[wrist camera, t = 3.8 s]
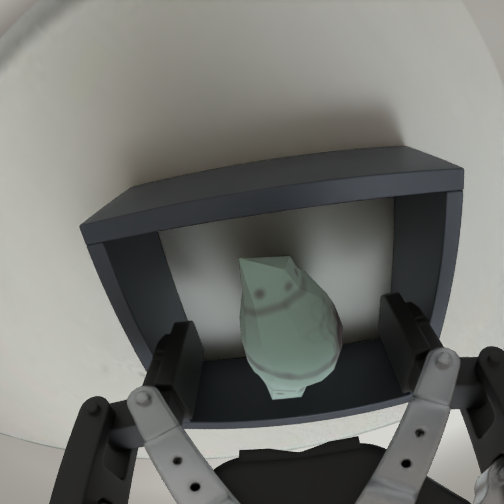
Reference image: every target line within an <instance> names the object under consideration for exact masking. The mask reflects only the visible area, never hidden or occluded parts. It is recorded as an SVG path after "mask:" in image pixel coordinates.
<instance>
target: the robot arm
mask: <svg viewBox="0 0 504 504" xmlns="http://www.w3.org/2000/svg"><path fill="white" fill-rule="evenodd" d="M378 329H379V334H380V337H381V340H382V342H383V344H384V347H385V349H386V352H387V354H388V356H389V359H390V361H391V364H392V366H393V369H394V371H395V374H396V376H397V379H398V382H399V384H400V387H401V389H402V392H403V393H406V392H410V391H412V394H413V395H412V396H411V399H410V401H409V403H408V406H407V408H406V410H405V412H404V415H403V417H402V419H401V421H400V424H399V426H398V428H397V430H396V432H395V434H394V436H393V439H392V440H391V442H390V444H389V446H388V448H387V449H385V448H382V447H380V446H376V445H372V444H365V443H360V442H359V438H358V436H357V437H352V438H346V439H341V440H335V441H329V442H327V443H324V444H322V445H319V446H316V447H314V448H311V449H308V450H305V451H303V452H291V451H282V450H275V449H255V450H239V458H235V459H233V460H230V461H227V462H225V463H223V464H222V465H220V466H218V467H217V468H215V469H214V470H213V469H212V467H211V466H210V465H209V464H208V462H207V461H206V460H205V458H204V457H203V456H202V454H201V453H200V451H199V450H198V449H197V447H196V446H195V445H194V443H193V442H192V440H191V439H190V437H189V436H188V435H187V433H186V432H185V430H184V429H183V427H182V424H183V419H193V413H194V408H195V402H196V397H197V391H198V386H199V381H200V376H201V370H202V365H203V360H204V351H203V346H202V344H201V341H200V338H199V336H198V333H197V330H196V327H195V325H194V323H193V321H180V322H175V323H174V325H173V328H172V331H171V333H170V334H165V335H164V336H163V337H162V338H161V339H160V341H159V342H158V343H157V346H156V349H155V353H154V354H153V357H152V360H151V363H150V366H149V368H148V371H147V374H146V377H145V380H144V383H143V385H142V386H141V387H138V388H136V389H135V390H133V391H132V392H131V393H130V395H129V397H128V399H127V400H124V401H119V402H115V403H110V404H109V402H108V401H107V400H106V399H105V398H103V397H100V396H96V397H92V398H90V399H88V400H86V401H85V402H84V403H83V405H82V406H81V408H80V411H79V414H78V416H77V419H76V422H75V424H74V427H73V430H72V433H71V435H70V438H69V441H68V444H67V447H66V450H65V453H64V456H63V459H62V462H61V465H60V468H59V472H58V475H57V478H56V482H55V485H54V488H53V492H52V495H51V500H50V503H49V504H128V499H129V493H130V488H131V482H132V476H133V471H134V466H135V461H136V456H137V451H138V448H139V447H145V449H146V451H147V453H148V455H149V457H150V459H151V460H152V462H153V464H154V466H155V468H156V469H157V471H158V473H159V475H160V476H161V478H162V480H163V481H164V483H165V485H166V486H167V488H168V490H169V491H170V493H171V495H172V496H173V498H174V499H175V501H176V502H177V504H471V503H470V502H469V501H467V500H466V499H464V498H462V497H460V496H459V495H457V494H455V493H454V492H452V491H450V490H449V489H447V488H445V487H444V486H442V485H441V484H439V483H437V482H436V481H434V480H433V479H431V478H429V477H428V476H426V475H427V473H428V471H429V469H430V466H431V464H432V461H433V459H434V456H435V454H436V451H437V449H438V446H439V443H440V441H441V438H442V435H443V432H444V429H445V426H446V423H447V420H448V417H449V414H450V410H451V409H460V411H461V414H462V416H463V419H464V422H465V424H466V427H467V430H468V433H469V436H470V439H471V442H472V445H473V448H474V451H475V454H476V458H477V461H478V464H479V468H480V471H481V475H480V476H479V477H478V479H477V481H476V483H475V498H474V502H473V504H504V351H503V350H502V349H500V348H498V347H493V346H490V347H486V348H484V349H483V350H482V351H481V352H480V354H479V356H478V357H459V356H458V354H457V353H456V352H455V351H453V350H451V349H449V348H444V347H443V345H442V343H441V342H440V340H439V338H438V337H437V335H436V333H435V332H434V330H433V328H432V327H431V325H430V324H429V322H428V320H427V319H426V317H425V315H424V314H423V312H422V311H421V309H420V308H419V307H418V306H417V305H415V304H414V303H412V302H411V301H410V302H405V301H404V300H403V298H402V296H401V295H400V293H399V292H395V293H390V294H384V295H381V298H380V308H379V319H378Z"/></svg>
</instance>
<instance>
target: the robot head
mask: <svg viewBox="0 0 504 504" xmlns="http://www.w3.org/2000/svg"><path fill="white" fill-rule="evenodd" d="M239 265H240V274H241V284H242V299H241V310H240V328H241V339H242V342H243V346H244V350H245V353H246V357H247V360H248V362H249V364H250V366H251V367H252V369H253V370H254V372H255V373H257V374H258V375H259V376H260V377H261V378H262V380H263V381H264V382H265V384H266V385H267V388H268V390H269V393H270V395H271V398H272V400H274V399H285V398H294V397H302V395H303V393H304V391H305V389H306V387H307V386H309V385H312V384H315V383H317V382H320V381H322V380H323V379H324V378H326V377H327V376H328V375H329V374H330V373H331V372H332V371H333V370H334V368H335V365H336V363H337V360H338V357H339V354H340V351H341V348H342V327H343V326H342V324H341V321H340V318H339V316H338V313H337V310H336V308H335V305H334V304H333V302H332V301H331V299H330V298H329V296H328V295H327V294H326V293H325V291H324V290H323V289H322V288H321V287H320V286H319V285H318V284H317V283H316V282H315V281H314V280H313V279H312V278H311V277H310V276H309V275H308V274H307V273H306V272H305V271H302V270H300V269H298V268H297V267H296V265H295V263H294V262H293V260H292V258H291V256H284V257H258V258H239Z"/></svg>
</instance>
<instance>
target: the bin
mask: <svg viewBox="0 0 504 504" xmlns="http://www.w3.org/2000/svg"><path fill="white" fill-rule="evenodd" d="M463 188H464V168H462V167H459V166H457V165H455V164H452V163H450V162H447V161H445V160H443V159H440V158H437V157H435V156H432V155H430V154H427V153H424V152H422V151H419V150H416V149H413V148H411V147H408V146H392V147H377V148H364V149H353V150H342V151H332V152H323V153H315V154H306V155H298V156H291V157H284V158H277V159H270V160H264V161H257V162H251V163H245V164H239V165H233V166H228V167H222V168H217V169H212V170H207V171H202V172H197V173H192V174H187V175H182V176H178V177H173V178H169V179H164V180H160V181H156V182H151V183H147V184H143V185H139V186H135V187H131V188H129V189H128V190H126V191H125V192H124V193H122V194H121V195H119V196H118V197H117V198H115V199H114V200H112V201H111V202H110V203H108V204H107V205H106V206H104V207H103V208H102V209H100V210H99V211H98V212H96V213H95V214H94V215H92V216H91V217H90V218H89V219H87V220H86V221H85V222H83V223H82V224H81V225H80V226H79V227H80V230H81V233H82V235H83V238H84V241H85V243H86V245H87V248H88V251H89V254H90V256H91V259H92V261H93V264H94V266H95V268H96V271H97V273H98V276H99V278H100V280H101V283H102V285H103V287H104V289H105V292H106V294H107V296H108V298H109V300H110V302H111V305H112V307H113V309H114V311H115V313H116V315H117V317H118V319H119V321H120V323H121V325H122V327H123V329H124V331H125V333H126V335H127V337H128V339H129V341H130V343H131V345H132V346H133V348H134V350H135V352H136V354H137V356H138V358H139V359H140V361H141V363H142V365H143V366H144V368H145V370H146V372H147V371H148V368H149V366H150V363H151V360H152V357H153V354H154V353H155V349H156V346H157V343H158V342H159V341H160V339H161V338H162V337H163V336H164V335H165V334H170V333H171V331H172V328H173V325H174V323H175V322H180V321H187V318H186V316H185V313H184V310H183V307H182V305H181V302H180V299H179V296H178V294H177V291H176V288H175V285H174V282H173V279H172V276H171V273H170V270H169V267H168V264H167V261H166V258H165V255H164V252H163V249H162V246H161V243H160V239H159V236H158V233H157V231H163V230H168V229H174V228H179V227H185V226H191V225H197V224H203V223H209V222H215V221H221V220H227V219H233V218H239V217H246V216H252V215H259V214H265V213H272V212H279V211H286V210H293V209H300V208H307V207H314V206H322V205H329V204H337V203H345V202H353V201H361V200H370V199H378V198H387V197H394V254H393V272H392V286H391V293H395V292H399V293H400V295H401V296H402V298H403V300H404V301H405V302H410V301H411V302H412V303H414V304H415V305H417V306H418V307H419V308H420V309H421V311H422V312H423V314H424V315H425V317H426V319H427V320H428V322H429V324H430V325H431V327H432V328H433V330H434V332H435V333H436V335H437V337H438V338H440V334H441V331H442V327H443V323H444V319H445V315H446V310H447V306H448V302H449V297H450V292H451V287H452V282H453V276H454V271H455V265H456V258H457V251H458V244H459V236H460V227H461V216H462V203H463ZM412 395H413V394H412V391H410V392H406V393H403V392H402V389H401V387H400V384H399V382H398V379H397V376H396V374H395V371H394V369H393V366H392V364H391V361H390V359H389V356H388V354H387V352H386V349H385V347H384V344H383V342H382V340H381V338H378V339H373V340H368V341H362V342H357V343H352V344H346V345H342V348H341V351H340V354H339V357H338V360H337V363H336V365H335V368H334V370H333V371H332V372H331V373H330V374H329V375H328V376H327V377H326V378H324V379H323V380H322V381H320V382H317V383H315V384H312V385H309V386H307V387H306V389H305V391H304V393H303V395H302V397H294V398H285V399H274V400H272V398H271V395H270V393H269V390H268V388H267V385H266V384H265V382H264V381H263V380H262V378H261V377H260V376H259V375H258V374H257V373H255V372H254V370H253V369H252V367H251V366H250V364H249V362H248V360H247V358H238V359H226V360H211V361H203V365H202V370H201V376H200V381H199V386H198V391H197V397H196V402H195V408H194V413H193V419H183V424H182V427H183V429H237V428H257V427H270V426H282V425H291V424H300V423H308V422H315V421H322V420H329V419H335V418H340V417H346V416H351V415H356V414H361V413H366V412H371V411H375V410H380V409H384V408H388V407H392V406H396V405H400V404H404V403H407V402H409V401H410V399H411V396H412Z"/></svg>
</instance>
